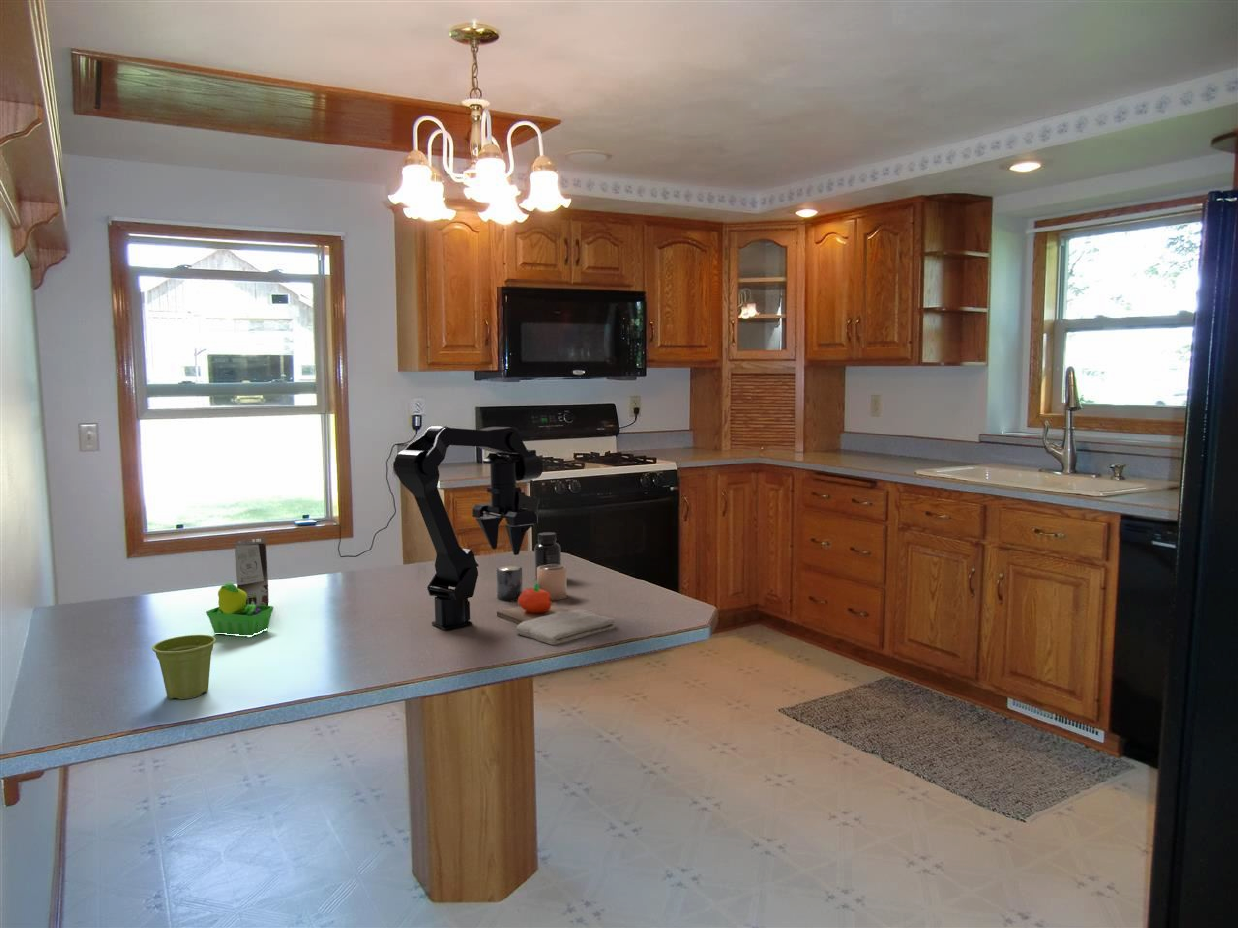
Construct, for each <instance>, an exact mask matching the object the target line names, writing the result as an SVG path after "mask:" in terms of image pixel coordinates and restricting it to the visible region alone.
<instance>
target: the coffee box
mask: <svg viewBox="0 0 1238 928" xmlns="http://www.w3.org/2000/svg"><path fill="white" fill-rule="evenodd" d="M234 547H235V548H234V552H235V556H234V557H235V572H236V587H237V588H238V589H240V590H243V591H244V592H245V593H246V594H247V600H246V604H248V605H251V604H252V603H254V605H262V606H268V603H269V580H268V579H269V574H268V573H269V572H268V557H267V543H266V537H253V538H244V539H236V540H235V545H234Z"/></svg>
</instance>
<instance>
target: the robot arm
mask: <svg viewBox="0 0 1238 928" xmlns="http://www.w3.org/2000/svg"><path fill="white" fill-rule="evenodd" d="M449 446H460V447H461V446H462V447H476V448H480V449H481V450H483V451H487V452H490V453H488V454H487V457H485V458H484V459H483V460H482V464H486V465H489V466H490V467H489V469H490V470H489V472H490V486H489V487H486V493H490V502H486V503H478V504H474V506H473V508H472V517H473V518H475V522H477V523H478V526H480V529H481V530H482V532H483V534H484V536H485V538H486V539H487V541H488V543H489V546H490V548H491V549H492V550H496V549H498V543H499V542H498V541H499V526H500V525H501V522H502V521H503V519H505V522H506V525H505V529H506V533H507V536H508V540H509V544H510V547H511V550H512V553H513V555H515V556H518V555H519V554H520V551H521V548H522V545H523V543H524V538H525V535H526V533H527V531H528V530H529V529H530V528H532V527H534V526H535V524H538V523H539V514H538V513H537V512H538V507H539V504H540V501H541V500H540V498H536V497H534V496H529V495H527V494H526V493H525V491H522V488H521V487H520V486H517V482H521V481H527V480H528V481H529V480H534V479H535V480H536V479H538V478H540V477H541V476H542V474H543V470H544V465H543V462H542V460H541V459H540V457H539V456H538V455H537V451H536V449H528V448H527V447H526V445H525V443H524V441H523V439H522V438H521V436H520V433H519V432H518V429H517V428H515V427H513V426H512V427H511V426H510V427H509V426H490V427H484V428H481V429H468V428H455V427H449V426H447V425H446V426H443V425H442V426H440V425H433V426H430V427H428V428H427V429H425V431H424V433H422V434H421V435H420V436H418V437H417V438H416V439H413V441H412V442H410V443H408V444H407V446H405V447H404V449H403V450H401V451H399V452H398V453H397V454H396V456H395V458H394V461H393V464H392V466H393V471H394V473H395V474H396V476H397V478H398V480H399V481H400V483H401V484H402V485H403V486H404V487H405V488H406V489H407V490H408V491H409V492H410V493H411V494H412V495H413V497H414V499H415V502H416V504H417V506H418V509H419V510H418V511H419V512H420V514H421V516H422V517H421V518H422V520H423V522H424V525H425V526H426V529H427V532H428V534H429V537H430V541H431V542H432V546H433V547H434V550H435V552H436V557H435V562H434V568H435V571H436V572H435V573H434V576H433V577H432V579H431V581H430V582H429V584H428V585H427V587H426V588H427V592H428V594H429V595H428V596H431V597H434V618H435V619H434V620H435V621H432V622H431V625H433V626H435V627H437V628H439V629H442V630H444V631H450V630H455V629H459V628H463V627H468V626H472V625H474V624H473V621H471V602H470V600H469V598H472V597H473V598H474V594H475V589H476V584H477V582H478V581H477V580H478V577H479V570H478V567H479V563H477V561H476V559H475V553H474V552H473V550H472V549H467V548H462V547H461V545H460V544H459V541H458V539H457V536H456V533H455V530H454V528H453V524H452V523H451V520H450V517H449V515H448V512H447V510H446V507H445V504H444V501H443V498H442V497H441V496H442V495H441V494H440V491H439V488H438V484H439V479H440V470H439V466H440V465H441V464H442V463H443V461H444V460H445V458H446V454H447V450H448V448H449ZM450 587H451V588H450ZM453 588H454V589H453Z"/></svg>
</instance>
